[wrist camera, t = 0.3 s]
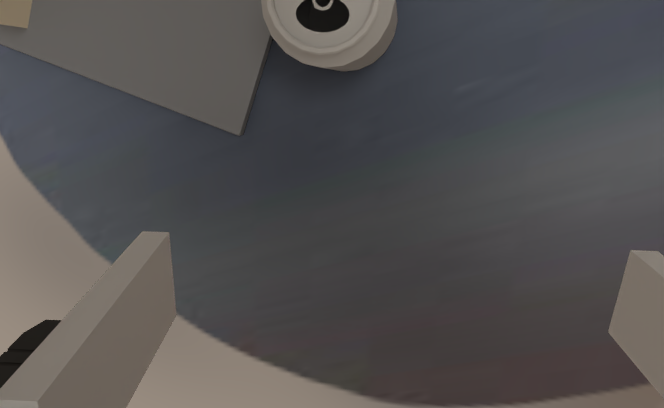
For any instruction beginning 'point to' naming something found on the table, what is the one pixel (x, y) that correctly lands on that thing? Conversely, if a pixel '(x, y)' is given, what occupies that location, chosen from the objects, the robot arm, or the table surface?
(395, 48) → the table surface
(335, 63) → the can
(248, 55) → the stop plate
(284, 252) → the table surface
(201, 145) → the table surface
